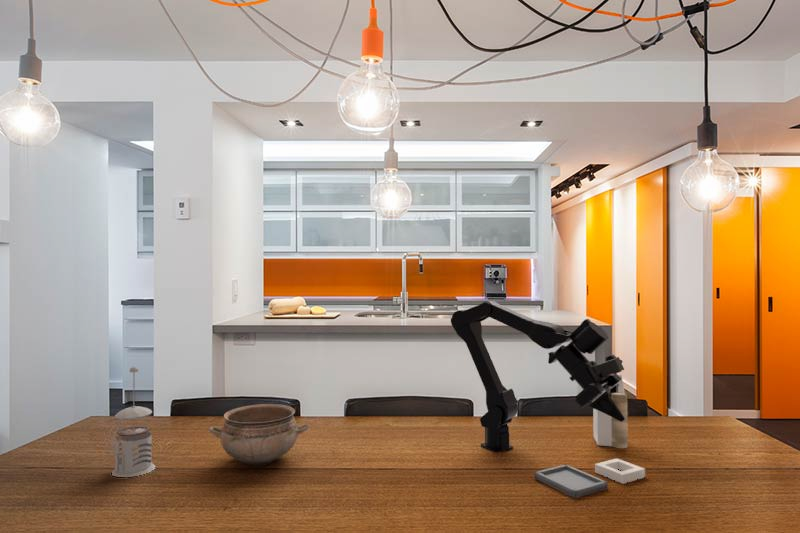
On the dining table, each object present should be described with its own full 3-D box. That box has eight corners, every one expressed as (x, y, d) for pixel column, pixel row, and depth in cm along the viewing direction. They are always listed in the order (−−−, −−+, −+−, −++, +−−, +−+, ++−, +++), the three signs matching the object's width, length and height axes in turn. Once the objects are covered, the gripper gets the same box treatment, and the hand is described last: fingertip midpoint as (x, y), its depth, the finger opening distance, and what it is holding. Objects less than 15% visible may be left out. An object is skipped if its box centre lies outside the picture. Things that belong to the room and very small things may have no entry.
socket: (595, 472, 123) (594, 463, 123) (616, 466, 126) (616, 458, 126) (622, 483, 116) (622, 474, 116) (645, 477, 119) (645, 468, 120)
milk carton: (625, 447, 140) (624, 377, 140) (597, 446, 141) (597, 376, 142) (619, 439, 147) (619, 372, 147) (593, 437, 148) (592, 371, 149)
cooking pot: (312, 446, 141) (312, 402, 141) (306, 473, 122) (306, 421, 123) (218, 450, 139) (218, 404, 139) (198, 477, 120) (198, 425, 120)
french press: (165, 465, 128) (165, 364, 128) (126, 483, 117) (126, 373, 117) (134, 461, 131) (134, 362, 131) (93, 478, 120) (94, 370, 120)
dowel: (608, 444, 122) (607, 393, 122) (618, 442, 123) (617, 392, 124) (620, 449, 119) (620, 396, 119) (631, 446, 120) (630, 395, 121)
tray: (534, 478, 119) (534, 472, 119) (566, 470, 124) (566, 464, 124) (574, 498, 108) (574, 491, 108) (607, 488, 113) (607, 481, 113)
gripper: (589, 349, 116) (642, 406, 110) (612, 340, 131) (660, 390, 124) (555, 380, 121) (604, 436, 114) (581, 368, 136) (626, 417, 129)
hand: (625, 418), depth 120 cm, fingers closed on dowel, 3 cm apart
